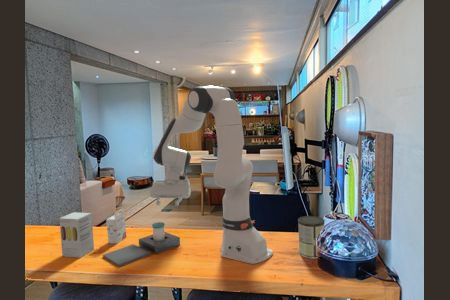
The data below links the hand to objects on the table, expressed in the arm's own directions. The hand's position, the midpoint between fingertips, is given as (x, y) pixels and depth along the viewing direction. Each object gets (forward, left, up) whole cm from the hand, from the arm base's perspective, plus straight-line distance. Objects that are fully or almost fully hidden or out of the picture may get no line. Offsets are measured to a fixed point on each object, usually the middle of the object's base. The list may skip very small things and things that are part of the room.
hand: (167, 204), depth 150 cm
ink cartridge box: (+15, +19, -16) cm, 29 cm away
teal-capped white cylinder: (-7, +10, -16) cm, 20 cm away
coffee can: (-63, -25, -16) cm, 69 cm away
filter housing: (-7, +10, -15) cm, 20 cm away
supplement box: (+15, +37, -16) cm, 43 cm away
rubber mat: (-5, +25, -15) cm, 30 cm away
